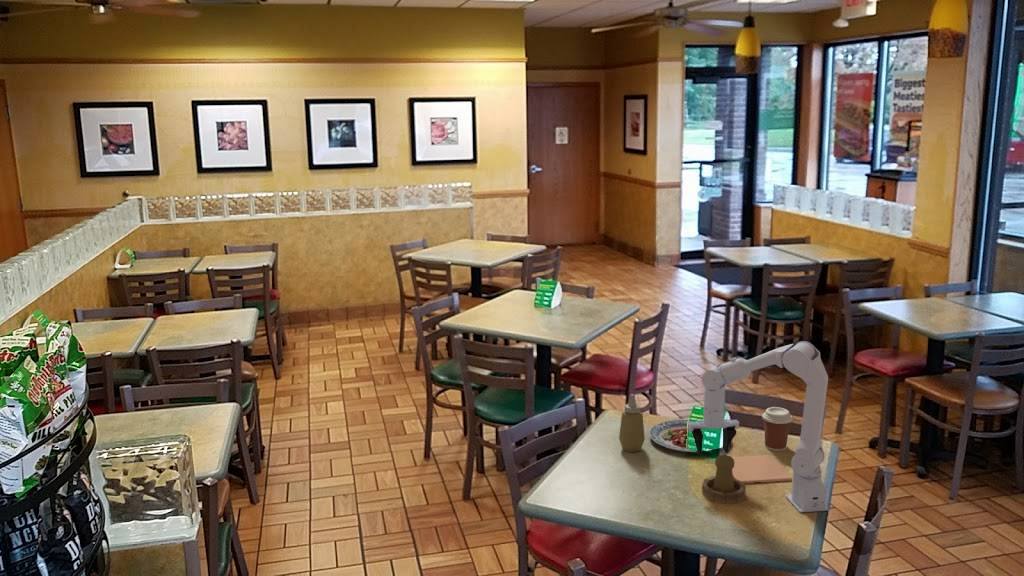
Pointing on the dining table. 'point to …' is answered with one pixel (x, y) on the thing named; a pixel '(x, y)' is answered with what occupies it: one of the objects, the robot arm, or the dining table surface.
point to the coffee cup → (776, 428)
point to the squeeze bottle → (632, 427)
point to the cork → (724, 474)
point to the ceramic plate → (671, 434)
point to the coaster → (758, 469)
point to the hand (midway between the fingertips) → (712, 452)
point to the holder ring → (721, 496)
